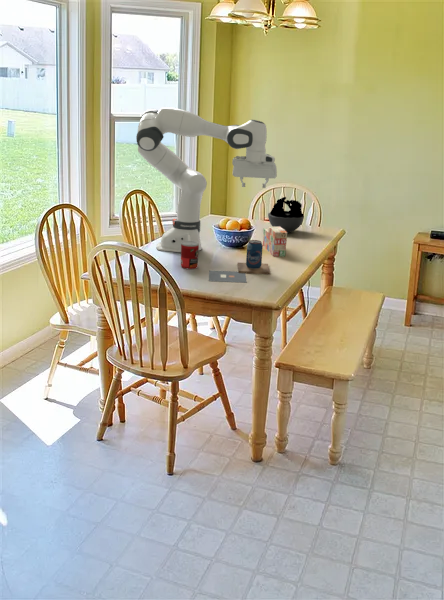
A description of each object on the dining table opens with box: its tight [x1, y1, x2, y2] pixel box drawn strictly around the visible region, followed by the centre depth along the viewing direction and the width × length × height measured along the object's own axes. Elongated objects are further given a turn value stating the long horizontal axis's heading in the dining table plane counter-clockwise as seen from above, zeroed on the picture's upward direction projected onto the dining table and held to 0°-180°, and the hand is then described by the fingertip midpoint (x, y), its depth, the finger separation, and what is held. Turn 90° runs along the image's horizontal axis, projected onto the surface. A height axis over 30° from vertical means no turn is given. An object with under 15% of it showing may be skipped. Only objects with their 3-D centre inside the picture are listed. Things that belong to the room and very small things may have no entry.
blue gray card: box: [208, 269, 247, 284], centre depth 295 cm, size 16×16×1 cm
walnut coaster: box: [236, 261, 271, 275], centre depth 308 cm, size 14×14×1 cm
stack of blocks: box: [262, 226, 288, 257], centre depth 340 cm, size 21×6×12 cm, turn 11°
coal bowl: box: [267, 196, 305, 234], centre depth 380 cm, size 20×20×19 cm
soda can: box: [245, 239, 264, 269], centre depth 305 cm, size 7×7×12 cm
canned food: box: [180, 241, 200, 270], centre depth 305 cm, size 8×8×11 cm
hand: (253, 187), depth 314 cm, fingers open, 8 cm apart
